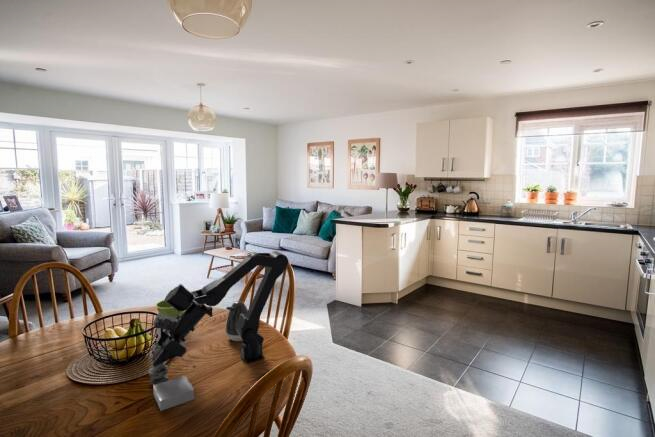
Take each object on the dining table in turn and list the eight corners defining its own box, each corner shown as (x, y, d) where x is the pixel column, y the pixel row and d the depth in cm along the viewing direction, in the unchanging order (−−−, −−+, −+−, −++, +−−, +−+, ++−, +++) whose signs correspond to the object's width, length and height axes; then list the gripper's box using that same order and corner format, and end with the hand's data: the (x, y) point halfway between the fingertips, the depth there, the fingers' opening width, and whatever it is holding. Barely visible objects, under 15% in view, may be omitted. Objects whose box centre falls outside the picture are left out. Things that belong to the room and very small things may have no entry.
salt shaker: (153, 375, 116) (151, 339, 115) (171, 374, 116) (170, 339, 115) (145, 385, 110) (143, 348, 109) (165, 385, 111) (163, 348, 109)
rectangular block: (185, 384, 111) (185, 375, 111) (194, 399, 104) (193, 389, 103) (153, 395, 106) (153, 385, 105) (160, 411, 98) (160, 400, 98)
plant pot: (167, 322, 158) (166, 297, 157) (192, 323, 156) (191, 298, 155) (150, 333, 146) (149, 307, 145) (177, 335, 145) (176, 308, 143)
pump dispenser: (220, 339, 142) (219, 301, 140) (241, 330, 150) (241, 295, 148) (235, 347, 135) (234, 308, 134) (257, 338, 143) (256, 301, 142)
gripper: (166, 296, 121) (131, 333, 117) (172, 315, 104) (131, 359, 100) (192, 314, 125) (158, 351, 121) (201, 335, 109) (163, 379, 105)
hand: (153, 359), depth 112 cm, fingers open, 8 cm apart
